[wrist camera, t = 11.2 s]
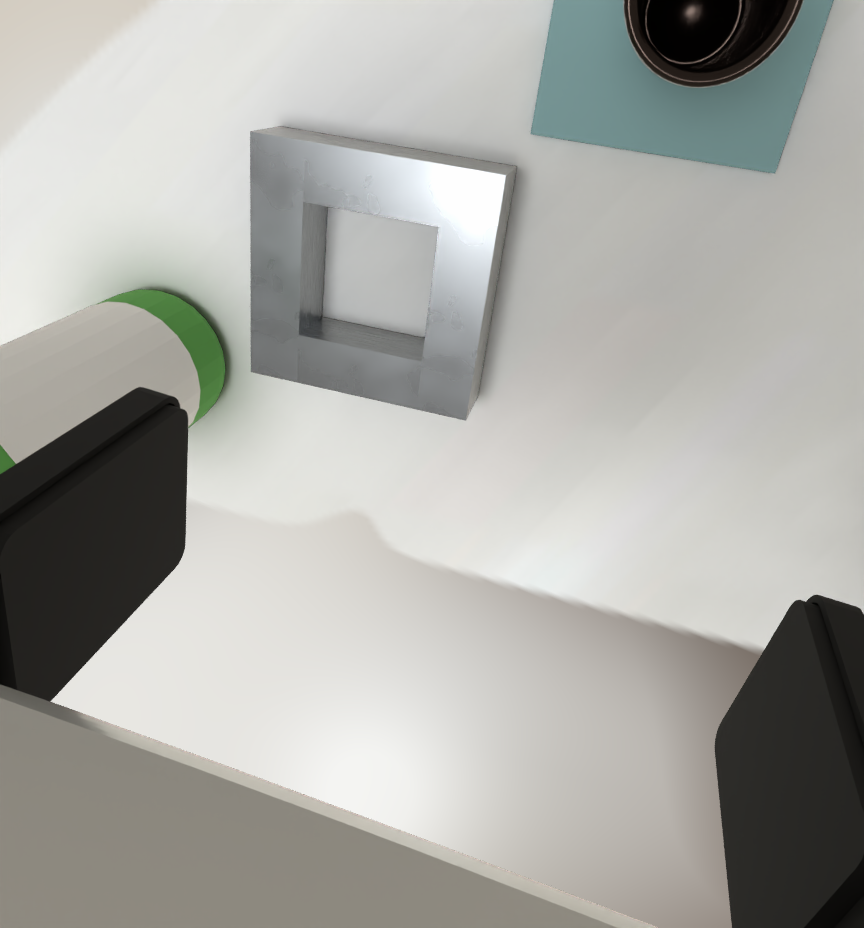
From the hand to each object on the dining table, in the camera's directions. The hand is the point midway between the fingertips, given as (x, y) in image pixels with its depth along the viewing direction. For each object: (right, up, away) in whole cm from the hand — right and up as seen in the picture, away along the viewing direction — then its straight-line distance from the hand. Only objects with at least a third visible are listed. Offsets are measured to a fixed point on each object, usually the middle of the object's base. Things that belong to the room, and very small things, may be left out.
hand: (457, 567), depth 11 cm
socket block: (-3, +11, +25) cm, 27 cm away
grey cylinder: (+9, +19, +17) cm, 27 cm away
